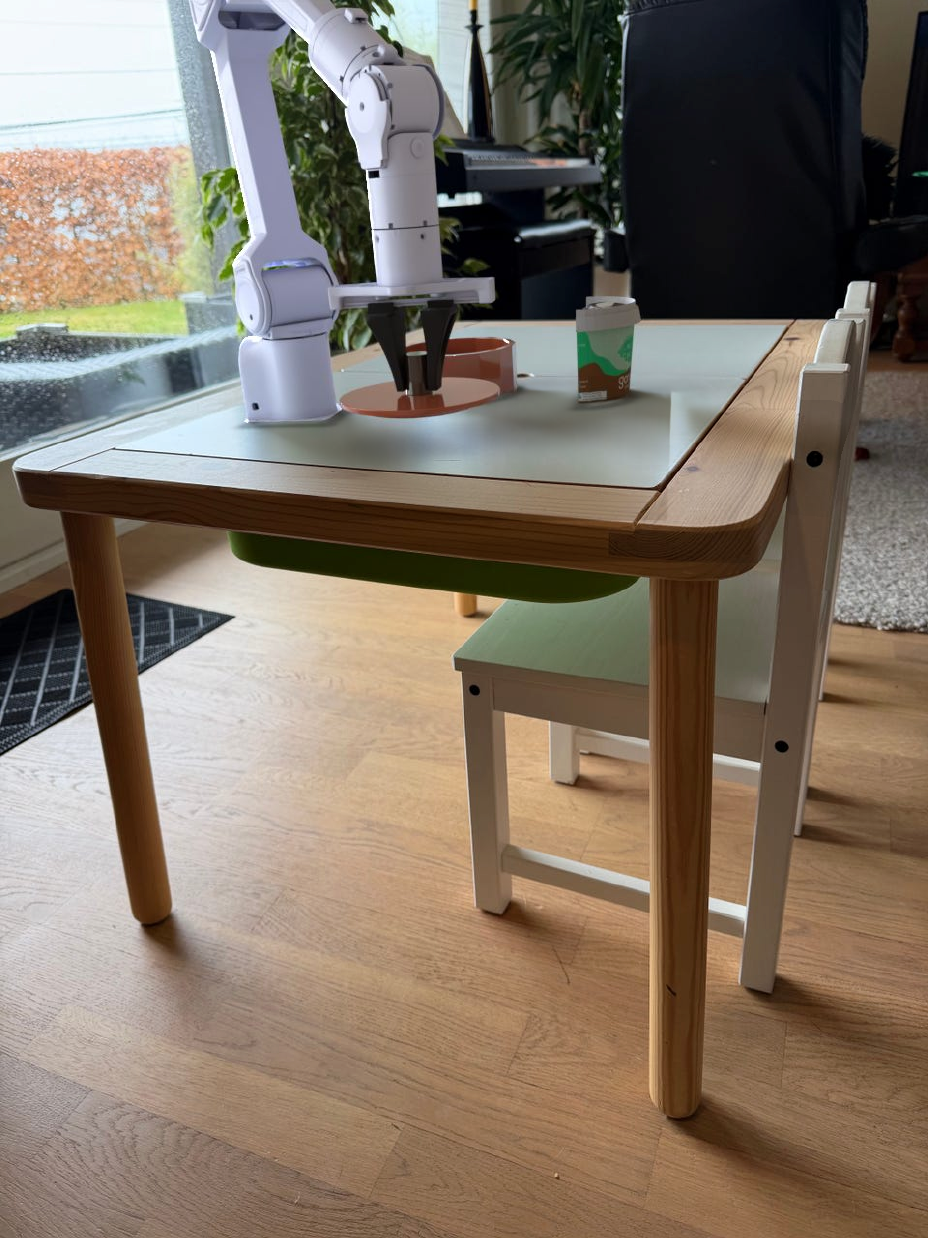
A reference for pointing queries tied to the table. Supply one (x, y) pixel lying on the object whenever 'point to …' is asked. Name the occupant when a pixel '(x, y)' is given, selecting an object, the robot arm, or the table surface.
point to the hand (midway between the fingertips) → (419, 389)
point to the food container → (605, 347)
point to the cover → (419, 394)
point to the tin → (479, 360)
